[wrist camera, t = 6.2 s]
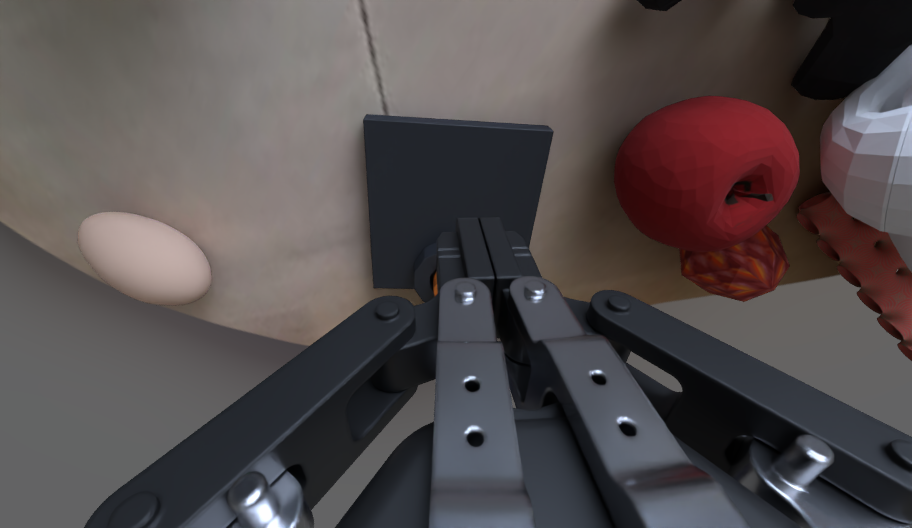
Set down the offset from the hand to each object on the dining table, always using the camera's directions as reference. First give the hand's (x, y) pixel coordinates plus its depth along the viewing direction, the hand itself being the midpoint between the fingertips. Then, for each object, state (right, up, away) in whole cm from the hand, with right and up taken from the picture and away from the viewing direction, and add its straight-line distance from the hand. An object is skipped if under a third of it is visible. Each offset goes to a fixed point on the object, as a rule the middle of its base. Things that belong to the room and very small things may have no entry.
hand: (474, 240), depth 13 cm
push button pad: (-1, +3, +15) cm, 15 cm away
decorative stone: (+19, +2, +17) cm, 26 cm away
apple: (+14, +7, +13) cm, 20 cm away
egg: (-19, -3, +14) cm, 24 cm away
